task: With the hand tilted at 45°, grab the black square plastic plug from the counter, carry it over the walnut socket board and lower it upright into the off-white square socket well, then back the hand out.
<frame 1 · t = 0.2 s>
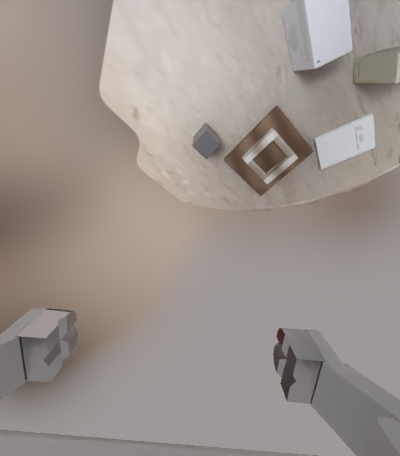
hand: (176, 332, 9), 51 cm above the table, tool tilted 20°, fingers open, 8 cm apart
skincare box: (369, 65, 46), on the table
plug: (206, 135, 54), on the table
external hard drive: (341, 141, 55), on the table
skincare box 2: (303, 33, 43), on the table
socket board: (267, 154, 56), on the table
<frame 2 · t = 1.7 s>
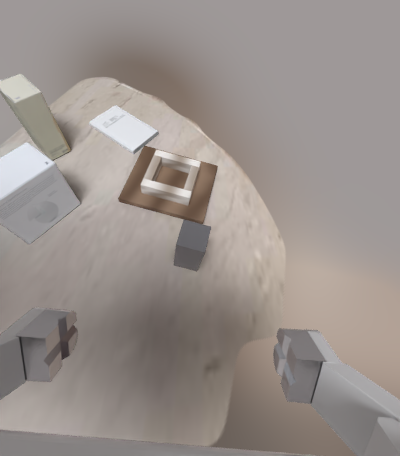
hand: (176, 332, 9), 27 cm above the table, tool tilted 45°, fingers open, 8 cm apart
skincare box: (52, 148, 46), on the table
plug: (188, 257, 39), on the table
external hard drive: (125, 132, 51), on the table
skincare box 2: (44, 213, 39), on the table
socket board: (171, 184, 46), on the table
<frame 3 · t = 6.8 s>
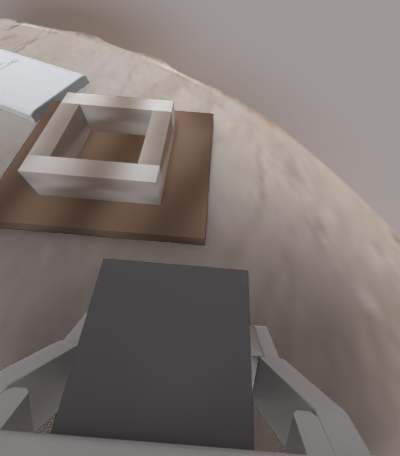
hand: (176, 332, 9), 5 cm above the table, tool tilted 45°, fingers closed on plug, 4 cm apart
plug: (179, 353, 13), on the table, touching gripper
external hard drive: (24, 92, 26), on the table
socket board: (118, 165, 20), on the table
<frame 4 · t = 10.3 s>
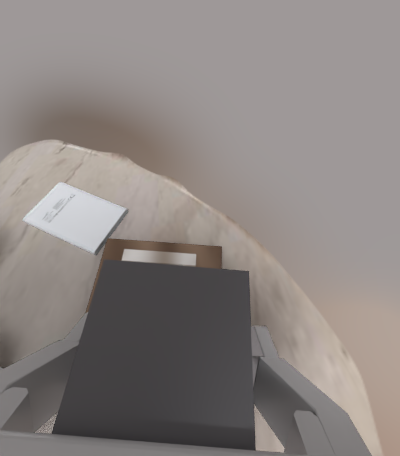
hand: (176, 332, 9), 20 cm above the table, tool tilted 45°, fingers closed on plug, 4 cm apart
plug: (179, 353, 13), point 15 cm above the table, touching gripper
external hard drive: (80, 219, 35), on the table
socket board: (158, 294, 29), on the table
when the fingers open (7 cm above the table, at t = 13.7 s): plug stays where it is, resting on socket board.
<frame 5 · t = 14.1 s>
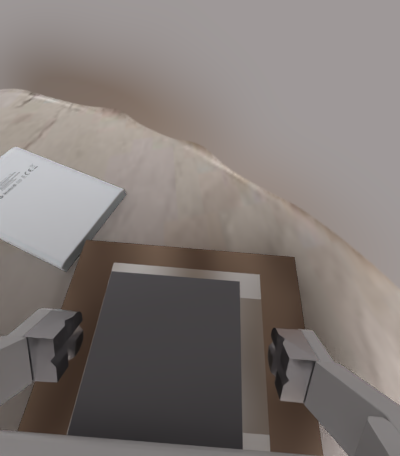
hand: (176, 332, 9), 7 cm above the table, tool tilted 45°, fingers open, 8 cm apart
plug: (179, 353, 14), point 1 cm above the table, touching socket board
external hard drive: (45, 208, 21), on the table
socket board: (180, 352, 15), on the table
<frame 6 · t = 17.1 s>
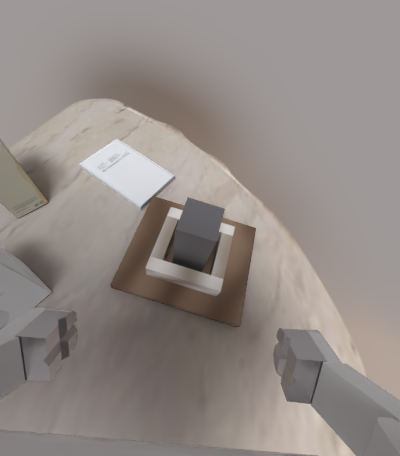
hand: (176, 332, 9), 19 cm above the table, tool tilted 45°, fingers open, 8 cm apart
skincare box: (22, 197, 32), on the table
plug: (191, 253, 30), point 1 cm above the table, touching socket board
external hard drive: (129, 176, 37), on the table
socket board: (190, 256, 31), on the table
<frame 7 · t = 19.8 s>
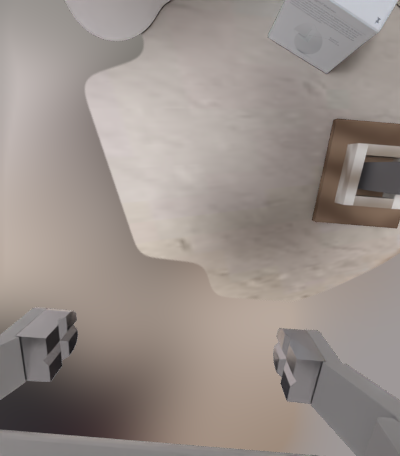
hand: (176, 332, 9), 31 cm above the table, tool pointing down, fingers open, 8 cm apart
plug: (368, 176, 36), point 1 cm above the table, touching socket board
skincare box 2: (308, 33, 33), on the table
socket board: (364, 176, 37), on the table
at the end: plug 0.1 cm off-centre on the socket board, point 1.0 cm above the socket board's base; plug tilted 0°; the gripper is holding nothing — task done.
